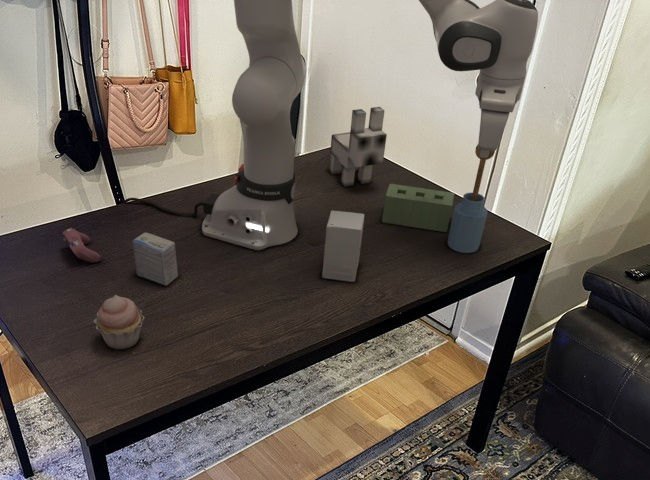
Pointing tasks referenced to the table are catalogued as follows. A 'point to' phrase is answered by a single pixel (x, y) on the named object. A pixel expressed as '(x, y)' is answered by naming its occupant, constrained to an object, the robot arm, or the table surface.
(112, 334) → the cupcake
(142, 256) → the medicine box
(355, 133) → the blocky rabbit figurine
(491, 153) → the spoon
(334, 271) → the white packaging box
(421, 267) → the table surface
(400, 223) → the stand
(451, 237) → the bottle
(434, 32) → the robot arm
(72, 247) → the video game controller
